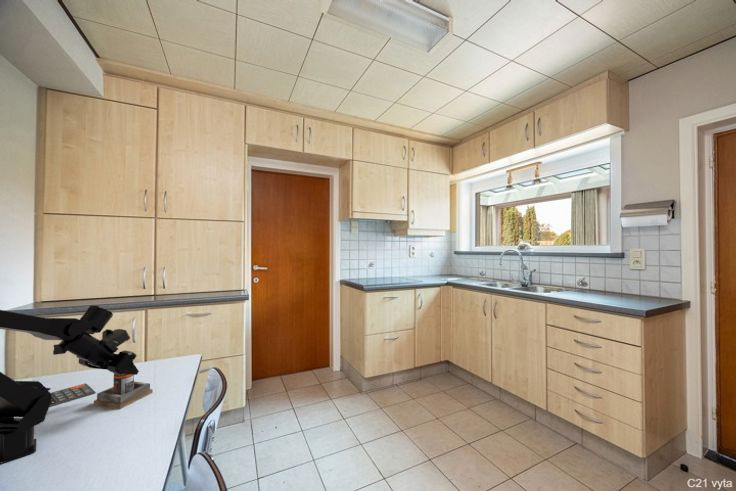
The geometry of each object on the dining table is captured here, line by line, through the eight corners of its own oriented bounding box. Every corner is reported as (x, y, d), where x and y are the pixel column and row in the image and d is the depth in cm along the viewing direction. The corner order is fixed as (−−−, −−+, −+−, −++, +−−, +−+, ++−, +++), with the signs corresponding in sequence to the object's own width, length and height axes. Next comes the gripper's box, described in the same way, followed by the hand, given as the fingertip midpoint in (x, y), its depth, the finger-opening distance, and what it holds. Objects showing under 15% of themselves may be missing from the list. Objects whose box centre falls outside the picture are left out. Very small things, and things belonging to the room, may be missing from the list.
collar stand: (152, 392, 99) (152, 383, 99) (120, 408, 89) (120, 398, 89) (128, 389, 102) (128, 379, 102) (93, 404, 91) (94, 394, 92)
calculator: (96, 391, 99) (27, 411, 86) (95, 394, 99) (27, 415, 86) (85, 382, 105) (21, 400, 93) (85, 385, 105) (21, 403, 93)
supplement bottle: (110, 396, 94) (110, 365, 94) (129, 389, 99) (129, 360, 99) (117, 400, 92) (118, 368, 92) (137, 393, 96) (137, 363, 96)
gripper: (129, 325, 88) (165, 351, 99) (91, 320, 95) (129, 344, 105) (97, 361, 81) (140, 385, 91) (58, 353, 87) (102, 375, 98)
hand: (128, 371), depth 96 cm, fingers open, 9 cm apart
